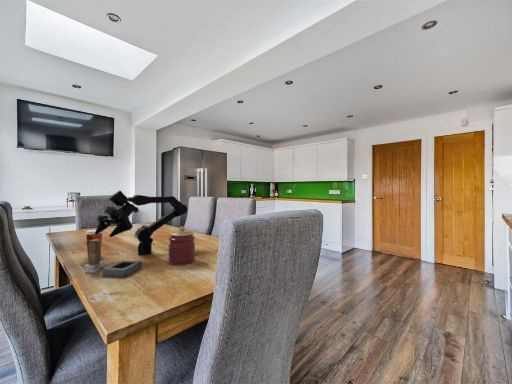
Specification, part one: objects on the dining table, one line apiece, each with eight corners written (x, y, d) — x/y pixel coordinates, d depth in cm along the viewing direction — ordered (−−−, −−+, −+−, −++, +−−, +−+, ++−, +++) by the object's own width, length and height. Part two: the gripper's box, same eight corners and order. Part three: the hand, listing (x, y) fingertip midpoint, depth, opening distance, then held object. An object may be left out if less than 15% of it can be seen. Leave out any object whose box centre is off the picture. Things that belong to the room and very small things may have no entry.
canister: (187, 266, 113) (187, 229, 112) (162, 264, 115) (163, 227, 115) (199, 258, 125) (199, 225, 125) (177, 256, 128) (177, 224, 128)
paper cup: (96, 258, 123) (96, 231, 122) (81, 258, 123) (81, 231, 123) (106, 254, 130) (106, 229, 130) (92, 254, 131) (92, 229, 130)
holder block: (122, 266, 111) (122, 260, 110) (142, 268, 109) (142, 261, 109) (102, 276, 99) (102, 269, 99) (124, 277, 97) (124, 270, 97)
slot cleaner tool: (95, 267, 109) (95, 238, 109) (103, 268, 108) (103, 238, 108) (84, 272, 103) (84, 241, 103) (93, 272, 103) (93, 241, 102)
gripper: (103, 199, 123) (78, 221, 112) (131, 203, 118) (108, 226, 107) (113, 214, 130) (91, 236, 119) (141, 218, 125) (120, 242, 114)
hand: (102, 235), depth 114 cm, fingers open, 9 cm apart
